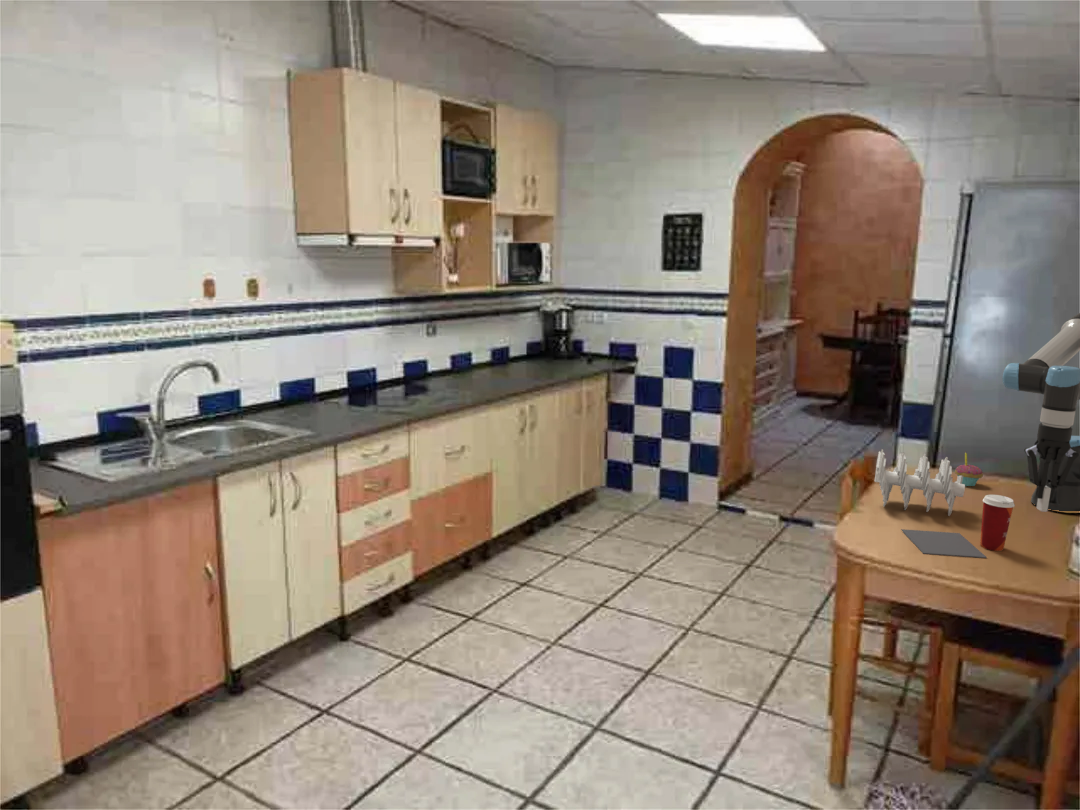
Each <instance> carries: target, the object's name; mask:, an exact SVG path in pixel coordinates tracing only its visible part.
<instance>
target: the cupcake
mask: <svg viewBox="0 0 1080 810" xmlns="http://www.w3.org/2000/svg"><path fill="white" fill-rule="evenodd" d="M954 473H955V474H956V475H957V477H958V476H961V475H962V476H963V480H962V484H965V487H967V486H974V487H975V486H976V484H977V483H978V481H979V479H982V478H983V477H984V473H983V470H982V469H981V468H980V467H978V466H977V465H973V464H968V453H967V451H966V450H965V451H964V464H960V465H957V467H955V470H954Z"/></svg>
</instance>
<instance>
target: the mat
mask: <svg viewBox="0 0 1080 810" xmlns="http://www.w3.org/2000/svg"><path fill="white" fill-rule="evenodd" d="M901 530H902V531H903V532H902V531H901ZM900 531H901V532H902V533H903V534H904V535H905V536H906V538H908V539H909V540H910V542H912V544H913V545H914V544H915V545H916V546H915V547H916V548H917V549H918V550H919V551H920V552H921V553H922V554H923V555H933V556H934V555H935V556H947V557H948V556H949V557H950V556H951V557H960V558H961V557H963V558H964V557H965V558H975V559H976V558H979V559H987V556H986V554H984V553H983V552H982V551H980V550H979V549H978V548H977V547H976V546H975V545H974V544H972V543H971V542H970V541H969V540H968V539H967V538H965V536H963V535H962V534H961V533H960V532H949V531H946V532H945V531H933V530H918V529H902V528H901V529H900Z"/></svg>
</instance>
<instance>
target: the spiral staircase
mask: <svg viewBox="0 0 1080 810" xmlns="http://www.w3.org/2000/svg"><path fill="white" fill-rule="evenodd" d="M885 455H886V454H885V452H884V449H883V448H881V451H880V450H879V451H878V454H877V459H876V465H875V467H876V468H875V475H874V482H875V483H879V485H878V486H879V487H880V488H879V489H880V490H881V496H882V502H883V503H882V504H883V506H882V507H886V505H887V503H888V502H889V499H890V494H891V493H892V490H893V486H897V487H899V490H900V494H902V501H903V508H904V509H903V510H904V511H906V510H907V509H908V508H909V506H908V505H909V504H910V500H911V496H912V494H913V491H914V489H915V490H920V491H923V492H922V495H923V496H924V498H925V499H926V513H928V512H929V510H930V509H931V506H932V502H933V499H934V496H935V493H936V494H937V493H938V494H941V495H942V494H943V495H944V499H945V501H946V503H947V504H948V505H947V506H948V511H947V516H949V517H951V514H952V512H953V508H954V504H955V503H954V502H955V500H956V497H959V498H964V495H965V490H966V489H965V488H966V486H965V484H962V480H963V476H962V475H961V476H958V475H957V476H956V477H957V478H956V481H954V482H953V480H954V479H953V476H952V471H953V468H952V465H951V461H950V460H948V459H949V458H948V456H945V458H944V459H941V461H940V465H939V468H938V473H936V474H935V478H931V471H930V461H929V458H928V457H927V456H926V455H927V454H926V453H923V456H922V457H919V461H918V465H917V468H915V471H914V474H907V470H908V469H907V468H908V462H906V460H907V458H906V455H905V452H902V453H899V455H898V460H897V466H896V467H894V468H893V471H890V470H887V469H886V464H887V463H886V462H887V457H885Z"/></svg>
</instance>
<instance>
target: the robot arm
mask: <svg viewBox="0 0 1080 810" xmlns="http://www.w3.org/2000/svg"><path fill="white" fill-rule="evenodd" d="M1079 352H1080V312H1079V313H1077V314H1076V315H1073V316H1072V317H1070V318H1069V319H1068V320H1067V321H1065V322H1064V323H1063V325H1061V327H1060V331H1059V332H1058V333H1057V334H1056V335H1055V336H1054V337H1053V338H1051V339H1050V340H1049V341H1048V342H1047V343H1046V344H1044V345H1043V346H1042V347H1041V348H1040V349H1039V350H1038V351H1036V352H1035V353H1034V354H1033V355H1032V356H1030V357H1029V358H1028V359H1027V360H1026V361H1024V362H1023V363H1020V362H1012V363H1008V364H1007V365H1006V366H1005V368H1004V369H1003V373H1002V384H1003V386H1004V387H1005V388H1006V389H1010V390H1014V391H1017V392H1024V393H1025V392H1026V393H1032V394H1033V393H1034V394H1037V395H1038V394H1040V395H1043V398H1042V405H1041V409H1040V410H1041V411H1040V417H1039V422H1040V423H1039V424H1038V429H1037V436H1036V438H1037V439H1036V441H1035V442H1034V445H1033V446H1030V447H1029V448H1028V447H1025V448H1024V450H1023V452H1024V453H1025V456H1026V457H1027V466H1028V478H1029V482H1030V483H1032V484H1033V485H1036V488H1035V489H1034V491H1033V493H1032V495H1031V500H1030V503H1031V502H1032V503H1033V504H1035V505H1036V506H1035V505H1034V506H1035V507H1036V510H1039V511H1040V512H1044V513H1045V512H1048V511H1049V510H1048V509H1051V510H1059V511H1080V435H1072V434H1073V428H1072V426H1074V423H1075V417H1076V409H1077V405H1078V404H1077V403H1078V401H1080V367H1077V366H1069V365H1066V364H1067V363H1068V362H1069V361H1070V360H1071V359H1073V357H1075V355H1077V354H1079ZM1037 453H1038V455H1039V464H1038V460H1037ZM1032 503H1031V504H1032ZM1033 504H1032V505H1033Z"/></svg>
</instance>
